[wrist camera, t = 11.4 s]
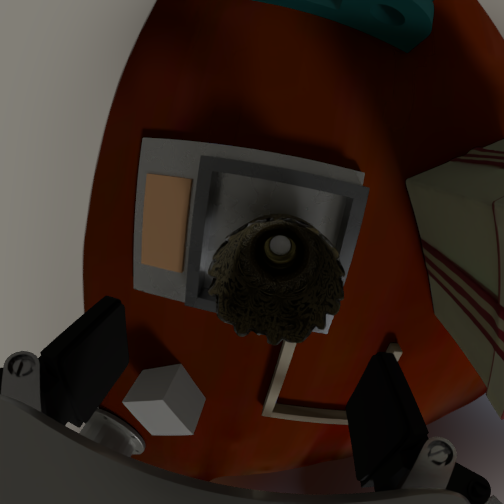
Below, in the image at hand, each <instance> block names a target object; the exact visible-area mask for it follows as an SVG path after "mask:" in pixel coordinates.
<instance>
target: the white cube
mask: <svg viewBox="0 0 504 504" xmlns="http://www.w3.org/2000/svg"><path fill="white" fill-rule="evenodd" d="M205 400H206V398H205V397H204V395H203V394H202V393H201V391H200V390H199V389H198V387H197V386H196V384H195V383H194V382H193V380H192V379H191V377H190V376H189V374H188V373H187V371H186V370H185V369H184V367H183V366H182V364H176V365H170V366H164V367H158V368H152V369H146V370H142V372H141V373H140V375H139V376H138V378H137V379H136V381H135V383H134V384H133V386H132V387H131V389H130V390H129V392H128V394H127V395H126V397H125V398H124V400H123V401H122V403H123V404H124V405H125V406H126V407H127V408H128V410H129V411H130V412H131V413H132V414H133V415H134V416H135V417H136V418H137V420H138V421H139V422H140V423H141V424H142V425H143V426H144V427H145V428H146V429H147V430H148V431H149V432H150V433H151V434H152V435H193V434H194V431H195V428H196V425H197V422H198V420H199V417H200V414H201V411H202V408H203V405H204V402H205Z"/></svg>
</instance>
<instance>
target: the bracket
mask: <svg viewBox="0 0 504 504" xmlns="http://www.w3.org/2000/svg"><path fill="white" fill-rule="evenodd" d="M253 1H259V2H264V3H270V4H274V5H279V6H284V7H288V8H292V9H296V10H300V11H303V12H307V13H311V14H314V15H317V16H320V17H324V18H327V19H330V20H333V21H336V22H338V23H341V24H344V25H347V26H349V27H352V28H354V29H357V30H359V31H362V32H364V33H367V34H369V35H371V36H374V37H376V38H378V39H380V40H382V41H384V42H387V43H389V44H391V45H393V46H395V47H397V48H399V49H401V50H402V51H404V52H406V53H408V52H409V51H411V50H412V49H413V48H414V47H415V46H417V45H418V44H419V43H420V42H422V41H423V40H424V39H425V38H426V37H428V36H429V35H430V33H431V31H432V24H433V16H434V5H433V2H432V1H433V0H253Z"/></svg>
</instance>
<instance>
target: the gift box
mask: <svg viewBox="0 0 504 504" xmlns="http://www.w3.org/2000/svg"><path fill="white" fill-rule="evenodd" d="M406 186H407V190H408V193H409V197H410V200H411V203H412V207H413V210H414V214H415V217H416V221H417V225H418V229H419V233H420V237H421V243H422V248H423V252H424V257H425V262H426V267H427V271H428V275H429V281H430V287H431V294H432V300H433V307H434V313H435V315H436V316H437V318H438V319H439V320H440V322H441V323H442V324H443V325H444V327H445V328H446V329H447V331H448V332H449V333H450V335H451V336H452V337H453V339H454V340H455V341H456V343H457V344H458V345H459V347H460V348H461V349H462V351H463V352H464V354H465V355H466V356H467V358H468V359H469V361H470V362H471V364H472V365H473V367H474V368H475V370H476V371H477V372H478V374H479V375H480V377H481V379H482V380H483V382H484V383H485V385H486V387H487V391H486V396H487V397H488V399H489V401H490V402H491V404H492V406H493V407H494V409H495V410H496V412H497V414H498V415H499V417H500V418H501V419H504V139H502V140H500V141H497V142H495V143H493V144H491V145H488V146H486V147H483V148H481V147H475V148H473V149H472V150H470V151H469V152H468V153H467V154H466V155H464V156H462V157H457V158H454V159H452V160H450V161H449V162H447V163H445V164H442V165H440V166H438V167H435V168H433V169H430V170H428V171H425V172H423V173H420V174H418V175H416V176H413V177H411V178H408V179H407V180H406Z"/></svg>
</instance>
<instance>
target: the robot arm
mask: <svg viewBox="0 0 504 504" xmlns="http://www.w3.org/2000/svg"><path fill="white" fill-rule="evenodd" d="M128 362H129V354H128V344H127V333H126V321H125V307H124V305H123V304H122V303H121V301H120V300H119V299H116V298H113V297H110V296H105V297H104V298H102V299H101V300H100V301H99V302H98V303H96V304H95V305H94V306H93V307H92V308H90V309H89V310H88V311H87V312H86V313H84V314H83V315H82V316H81V317H80V318H79V319H77V320H76V321H75V322H74V323H73V324H72V325H70V326H69V327H68V328H67V329H66V330H65V331H64V332H62V333H61V334H60V335H59V336H58V337H57V338H56V339H55V340H53V341H52V342H51V343H50V344H49V345H48V346H47V347H46V348H44V349H43V350H42V351H41V356H40V357H39V358H37V356H36V355H34V354H33V353H30V352H26V351H21V352H16V353H14V354H12V355H10V356H9V357H8V358H7V360H6V361H5V363H4V368H0V504H502V503H501V502H500V501H499V500H498V499H497V498H496V497H495V496H494V495H493V496H491V497H490V494H491V488H490V485H489V483H488V481H487V480H486V479H485V478H483V477H482V476H480V475H478V474H476V473H475V472H472V471H471V470H469V469H467V468H465V467H463V466H462V465H460V464H458V463H456V457H457V454H456V450H455V448H454V446H453V445H452V444H451V443H450V442H449V441H448V440H446V439H444V438H442V437H433V438H430V439H428V437H427V434H428V433H429V432H428V430H427V427H426V425H425V422H424V420H423V417H422V415H421V413H420V410H419V408H418V406H417V403H416V401H415V399H414V396H413V394H412V392H411V390H410V387H409V385H408V383H407V381H406V379H405V376H404V374H403V372H402V370H401V368H400V366H399V364H398V362H397V360H396V357H395V355H394V354H393V353H387V352H378V353H377V354H376V355H373V356H372V358H371V359H370V361H369V363H368V365H367V367H366V369H365V371H364V373H363V375H362V377H361V379H360V381H359V383H358V385H357V387H356V388H355V390H354V392H353V394H352V396H351V397H350V399H349V401H348V403H347V406H346V415H347V420H348V426H349V432H350V438H351V444H352V450H353V457H354V464H355V471H356V477H357V480H359V481H360V482H361V487H373V486H374V489H375V492H370V493H356V494H355V493H354V494H315V495H314V494H291V493H278V492H268V491H259V490H251V489H245V488H238V487H233V486H227V485H222V484H216V483H212V482H208V481H204V480H199V479H195V478H192V477H188V476H184V475H181V474H177V473H174V472H171V471H167V470H164V469H161V468H158V467H155V466H152V465H149V464H147V463H144V462H141V461H138V460H136V459H133V458H131V455H132V454H140V453H142V452H143V451H144V449H145V442H144V440H143V438H142V437H141V436H140V435H139V433H138V432H137V431H136V430H134V429H133V428H132V427H131V426H130V425H128V424H127V423H126V422H124V421H123V420H121V419H120V418H118V417H116V416H115V415H113V414H111V413H109V412H107V411H105V410H102V409H99V408H98V406H99V405H100V404H101V402H102V401H103V399H104V398H105V396H106V395H107V394H108V392H109V391H110V389H111V388H112V386H113V385H114V384H115V382H116V381H117V379H118V378H119V377H120V375H121V374H122V372H123V371H124V370H125V368H126V367H127V365H128ZM67 422H70V423H72V424H73V425H75V426H77V427H81V425H82V423H83V422H84V423H85V426H84V427H83V429H82V430H81V432H80V433H77V432H75V431H73V430H71V429H69V428H68V427H66V426H65V425H66V423H67Z"/></svg>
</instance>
